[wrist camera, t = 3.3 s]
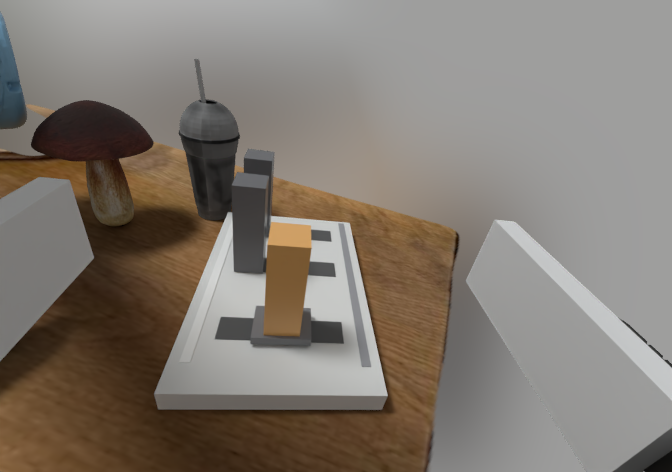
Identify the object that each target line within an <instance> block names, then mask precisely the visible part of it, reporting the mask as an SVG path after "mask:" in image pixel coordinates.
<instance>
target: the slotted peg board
mask: <svg viewBox="0 0 672 472" xmlns="http://www.w3.org/2000/svg"><path fill="white" fill-rule="evenodd" d="M273 170H274V152H270V151H262V150H254V149H248V150H247V152H246V154H245V157H244V173H239V172H237V174H236V177H235V179H234V181H233V183H232V212H228V213H227V216H226V218H225V221H224V223H223V226H222V228H221V231H220V233H219V235H218V238H217V240H216V243H215V245H214V248H213V250H212V253H211V255H210V258H209V260H208V262H207V265H206V267H205V270H204V272H203V275H202V277H201V280H200V282H199V285H198V287H197V289H196V292H195V294H194V297H193V299H192V302H191V304H190V307H189V309H188V312H187V314H186V317H185V319H184V321H183V324H182V326H181V329H180V331H179V334H178V336H177V339H176V341H175V344H174V346H173V348H172V351H171V353H170V356H169V358H168V361H167V363H166V366H165V368H164V371H163V373H162V376H161V378H160V380H159V383H158V385H157V388H156V390H155V393H154V396H155V400H156V403H157V407H158V409H180V410H382V408H383V406H384V404H385V401H386V399H387V396H388V395H387V391H386V386H385V382H384V377H383V372H382V368H381V363H380V359H379V354H378V350H377V345H376V341H375V336H374V332H373V327H372V323H371V318H370V314H369V309H368V305H367V300H366V296H365V291H364V287H363V282H362V278H361V273H360V268H359V264H358V259H357V255H356V250H355V246H354V241H353V237H352V232H351V228H350V223H343V222H332V221H321V220H310V219H299V218H288V217H277V216H271V212H272V192H273ZM271 222H278V223H289V224H301V225H311V245H312V249H311V256H310V264H309V271H308V278H307V286H306V293H305V301H304V308H311V346H295V345H263V344H250V339H251V332H252V326H253V320H254V315H255V309H256V306H265V287H266V265H267V244H268V238H269V232H270V226H271Z"/></svg>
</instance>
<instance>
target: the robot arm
mask: <svg viewBox="0 0 672 472" xmlns="http://www.w3.org/2000/svg"><path fill="white" fill-rule="evenodd" d="M26 120H27V111H26V105H25V101H24V96H23V92H22V88H21V85H20V80H19V76H18V70H17V66H16V62H15V58H14V54H13V50H12V46H11V42H10V39H9V35H8V31H7V28H6V24H5V21H4V18H3V16H2V14H1V12H0V129H13V128H18V127H20V126H22V125H24V123H25V122H26ZM93 259H94V256H93V253H92V249H91V246H90V243H89V240H88V237H87V234H86V231H85V227H84V224H83V221H82V218H81V215H80V212H79V208H78V205H77V202H76V199H75V196H74V193H73V190H72V186H71V183H70V180H64V179H54V178H43V177H38V178H37V179H35V180H33V181H31V182H30V183H28V184H26V185H24V186H23V187H21V188H19V189H17V190H15V191H14V192H12V193H10V194H8V195H7V196H5V197H3V198H1V199H0V361H1V360H2V359H3V358H4V357H5V356H6V354H7V353H8V352H9V351H10V350H11V349H12V348H13V347H14V346H15V345H16V343H17V342H18V341H19V340H20V339H21V338H22V337H23V336H24V335H25V334H26V332H27V331H28V330H29V329H30V328H31V327H32V326H33V325H34V324H35V323H36V321H37V320H38V319H39V318H40V317H41V316H42V315H43V314H44V313H45V312H46V310H47V309H48V308H49V307H50V306H51V305H52V304H53V303H54V302H55V301H56V299H57V298H58V297H59V296H60V295H61V294H62V293H63V292H64V291H65V290H66V288H67V287H68V286H69V285H70V284H71V283H72V282H73V281H74V280H75V279H76V278H77V276H78V275H79V274H80V273H81V272H82V271H83V270H84V269H85V268H86V267H87V265H88V264H89V263H90V262H91V261H92V260H93ZM466 282H467V284H468V285H469V287H470V289H471V290H472V292H473V293H474V295H475V297H476V298H477V300H478V302H479V303H480V305H481V306H482V308H483V309H484V311H485V312H486V314H487V315H488V317H489V319H490V321H491V322H492V323H493V325H494V327H495V329H496V330H497V332H498V333H499V335H500V336H501V338H502V340H503V341H504V343H505V344H506V346H507V347H508V349H509V351H510V352H511V354H512V355H513V357H514V359H515V360H516V362H517V363H518V365H519V367H520V368H521V370H522V371H523V373H524V375H525V376H526V377H527V379H528V381H529V382H530V384H531V386H532V387H533V389H534V390H535V392H536V394H537V395H538V397H539V398H540V400H541V401H542V403H543V404H544V406H545V408H546V409H547V411H548V412H549V414H550V416H551V417H552V419H553V420H554V422H555V424H556V425H557V427H558V428H559V430H560V431H561V433H562V435H563V436H564V438H565V439H566V441H567V443H568V444H569V446H570V447H571V449H572V451H573V452H574V454H575V455H576V457H577V459H578V460H579V461H580V463H581V465H582V466H583V468H584V470H585V471H586V472H643V471H645V472H672V364H671V363H670V362H669V361H668V360H664V359H663V358H662V357H663V356H662V355H661V354H660V353H659V352H658V351H657V350H656V349H655V348H653V347H652V346H651V345H647V341H646V340H645V339H644V338H643V337H642V336H640V335H639V334H638V333H637V332H636V331H635V330H634V329H633V328H632V327H631V326H630V325H628V324H627V323H626V322H624V321H622V320H621V319H619V318H618V317H617V316H616V315H614V314H613V313H612V312H611V311H610V310H609V309H608V308H607V307H606V306H605V305H604V304H603V303H602V302H601V301H599V300H598V299H597V298H596V297H595V296H594V295H593V294H592V293H591V292H590V291H589V290H588V289H587V288H585V287H584V286H583V285H582V284H581V283H580V282H579V281H578V280H577V279H576V278H575V277H574V276H573V275H571V274H570V273H569V272H568V271H567V270H566V269H565V268H564V267H563V266H562V265H561V264H560V263H559V262H557V260H555V259H554V258H553V257H552V256H551V255H550V254H549V253H548V252H547V251H546V250H545V249H544V248H542V247H541V246H540V245H539V244H538V243H537V242H536V241H535V240H534V239H533V238H532V237H531V236H530V235H529V234H527V233H526V232H525V231H524V230H523V229H522V228H521V227H520V226H519V225H518V224H517V223H516V222H513V221H502V220H494V222H493V224H492V226H491V229H490V231H489V233H488V235H487V237H486V239H485V241H484V243H483V245H482V247H481V250H480V252H479V254H478V256H477V258H476V260H475V262H474V265H473V267H472V269H471V271H470V273H469V275H468V277H467V279H466Z"/></svg>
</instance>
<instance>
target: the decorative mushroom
mask: <svg viewBox="0 0 672 472" xmlns="http://www.w3.org/2000/svg"><path fill="white" fill-rule="evenodd" d="M31 146H32V148H33V149H34V150H36V151H38V152H40V153H43V154H45V155H48V156H51V157H54V158H59V159H63V160H68V161H86V177H87V187H88V191H89V196H90V199H91V205H92V209H93V212H94V214H95V216H96V218H97V219H98V220H99V221H100V222H101V223H102V224H105V225H109V226H121V225H124V224H127V223H129V222H130V221H131V220H132V218H133V215H134V206H133V201H132V197H131V193H130V190H129V186H128V183H127V180H126V177H125V174H124V172H123V169H122V167H121V164H120V162H119V158H125V157H130V156H134V155H137V154H140V153H143V152H145V151H147V150H149V149H150V148H151V147H152V146H153V140H152V139H151V137H150V135H149V134H148V133H147V131H146V130H145V129H144V128H143V127H142V126H141V125H140V123H138V122H137V121H136V120H135V119H133V118H132V117H130V116H129V115H127V114H125V113H124V112H122V111H121V110H119V109H116V108H114V107H111V106H109V105H106V104H103V103H99V102H96V101H89V100H84V101H78V102H74V103H71V104H69V105H66V106H64V107H62V108H60V109H58V110H57V111H55V112H54V113H52V114H51V115H50V116H49V117H48V118H46V119H45V120H44V121H43V122H42V123H41V124H40V125H39V126H38V128H37V129H36V131H35V133H34V136H33V139H32V142H31Z"/></svg>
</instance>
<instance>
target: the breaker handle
mask: <svg viewBox="0 0 672 472" xmlns="http://www.w3.org/2000/svg"><path fill="white" fill-rule="evenodd" d="M311 249H312V245H311V225H301V224H289V223H278V222H271V226H270V232H269V238H268V244H267V265H266V287H265V306H256V309H255V315H254V320H253V326H252V332H251V339H250V344H263V345H295V346H311V308H304V301H305V293H306V286H307V278H308V271H309V264H310V256H311Z"/></svg>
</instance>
